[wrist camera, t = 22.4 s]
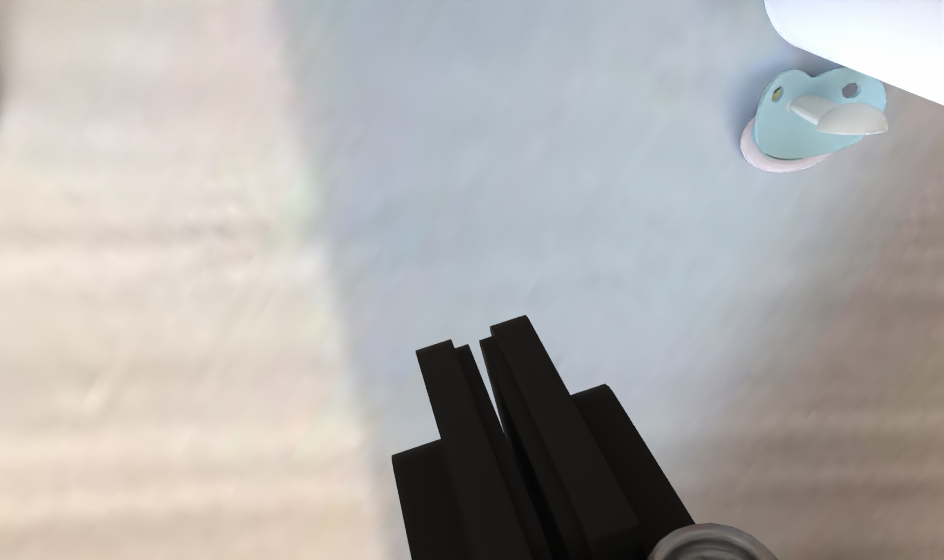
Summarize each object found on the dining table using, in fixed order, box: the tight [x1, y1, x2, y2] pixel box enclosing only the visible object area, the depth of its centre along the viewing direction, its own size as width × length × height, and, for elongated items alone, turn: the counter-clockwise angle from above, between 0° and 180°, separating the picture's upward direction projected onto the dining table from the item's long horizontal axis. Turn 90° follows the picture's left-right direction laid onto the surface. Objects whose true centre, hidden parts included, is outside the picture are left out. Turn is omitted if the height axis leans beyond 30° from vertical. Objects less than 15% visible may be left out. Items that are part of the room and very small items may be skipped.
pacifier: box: [741, 67, 888, 172], centre depth 39 cm, size 7×6×6 cm
